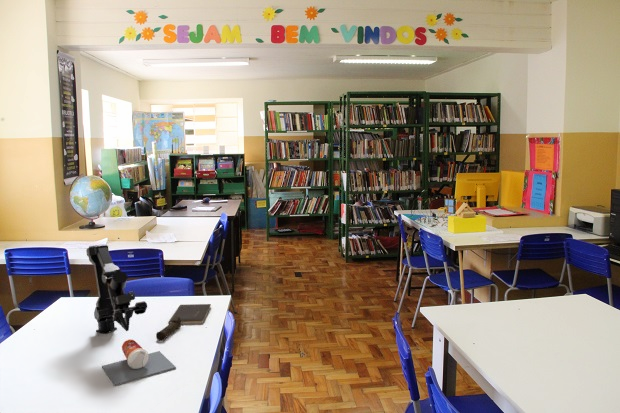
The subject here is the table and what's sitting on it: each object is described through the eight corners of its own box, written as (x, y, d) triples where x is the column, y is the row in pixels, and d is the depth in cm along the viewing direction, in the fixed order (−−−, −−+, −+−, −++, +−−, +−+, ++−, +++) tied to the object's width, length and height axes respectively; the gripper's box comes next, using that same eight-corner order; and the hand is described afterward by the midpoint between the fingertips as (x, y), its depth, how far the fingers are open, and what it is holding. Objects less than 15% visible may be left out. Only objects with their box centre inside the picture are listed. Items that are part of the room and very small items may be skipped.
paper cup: (124, 334, 193) (134, 347, 182) (142, 339, 197) (153, 352, 186) (115, 353, 192) (124, 367, 181) (133, 358, 196) (143, 372, 185)
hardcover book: (211, 308, 254) (210, 304, 254) (202, 324, 231) (202, 320, 231) (179, 309, 254) (179, 304, 253) (168, 325, 231) (168, 320, 230)
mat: (101, 367, 187) (101, 365, 187) (159, 352, 200) (159, 350, 200) (114, 385, 173) (114, 384, 173) (175, 368, 186) (175, 367, 186)
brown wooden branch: (164, 341, 212) (164, 331, 211) (156, 340, 213) (155, 330, 212) (185, 325, 230) (185, 315, 229) (178, 324, 231) (177, 315, 230)
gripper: (96, 290, 192) (105, 325, 184) (144, 281, 203) (155, 315, 195) (92, 304, 199) (101, 339, 192) (139, 296, 210) (149, 328, 202)
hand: (127, 330), depth 195 cm, fingers closed
